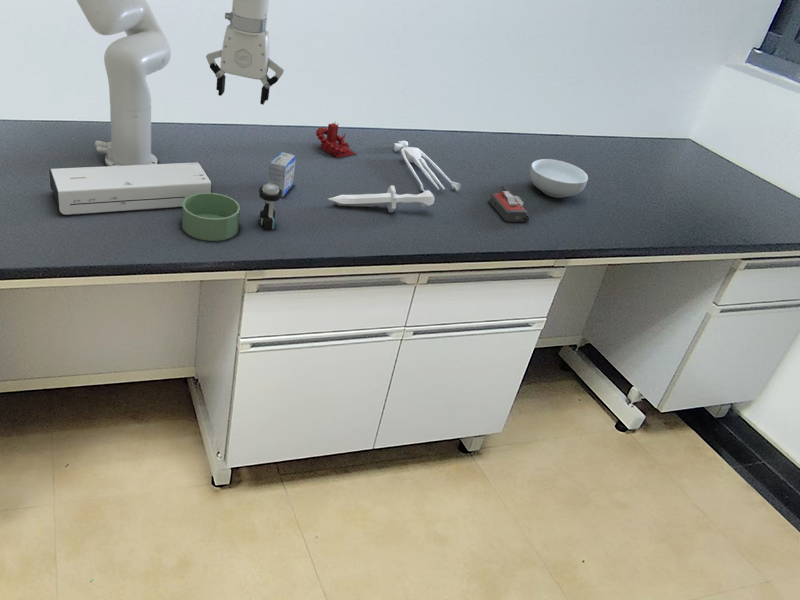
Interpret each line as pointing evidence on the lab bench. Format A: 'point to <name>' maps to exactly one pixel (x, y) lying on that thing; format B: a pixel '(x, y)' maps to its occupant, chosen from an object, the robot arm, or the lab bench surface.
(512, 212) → the walkie-talkie
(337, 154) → the diorama
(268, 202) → the push button
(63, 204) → the laminator
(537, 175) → the cereal bowl
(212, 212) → the green round bowl
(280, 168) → the medicine box
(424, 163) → the alien
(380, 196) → the dagger
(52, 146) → the lab bench surface
